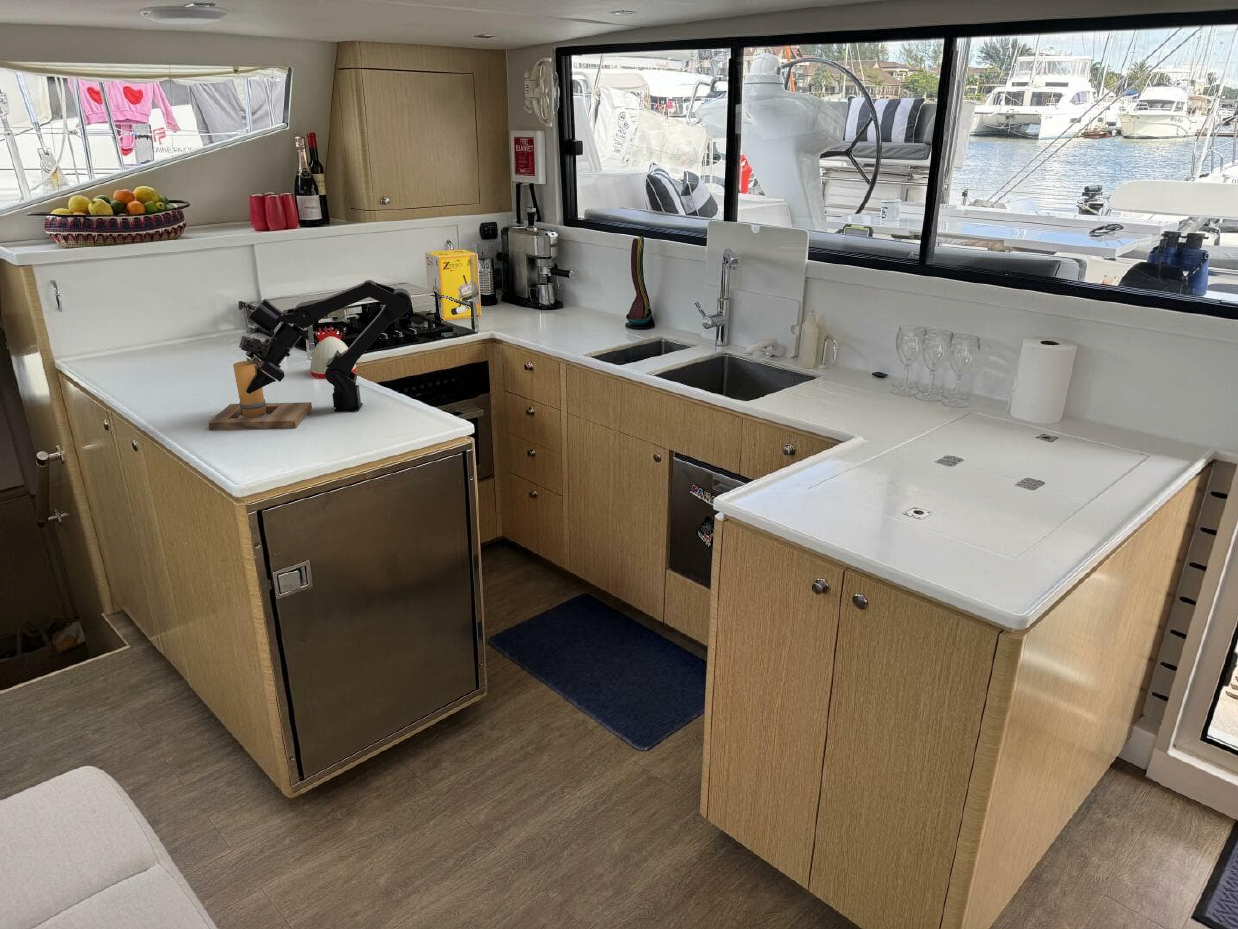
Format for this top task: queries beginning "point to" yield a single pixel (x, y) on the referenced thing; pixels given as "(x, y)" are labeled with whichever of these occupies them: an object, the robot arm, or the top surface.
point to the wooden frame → (279, 418)
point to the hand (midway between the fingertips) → (244, 389)
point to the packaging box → (454, 281)
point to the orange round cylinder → (251, 402)
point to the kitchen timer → (326, 352)
